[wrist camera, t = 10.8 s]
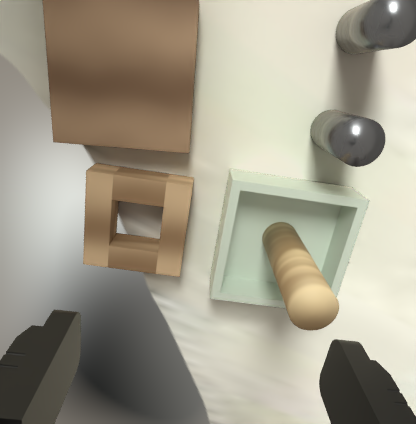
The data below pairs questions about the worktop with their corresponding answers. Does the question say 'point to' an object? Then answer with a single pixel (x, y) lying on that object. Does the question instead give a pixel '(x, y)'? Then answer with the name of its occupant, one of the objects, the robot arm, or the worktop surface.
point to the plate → (122, 72)
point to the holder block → (142, 194)
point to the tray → (289, 213)
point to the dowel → (299, 278)
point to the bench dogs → (354, 44)
